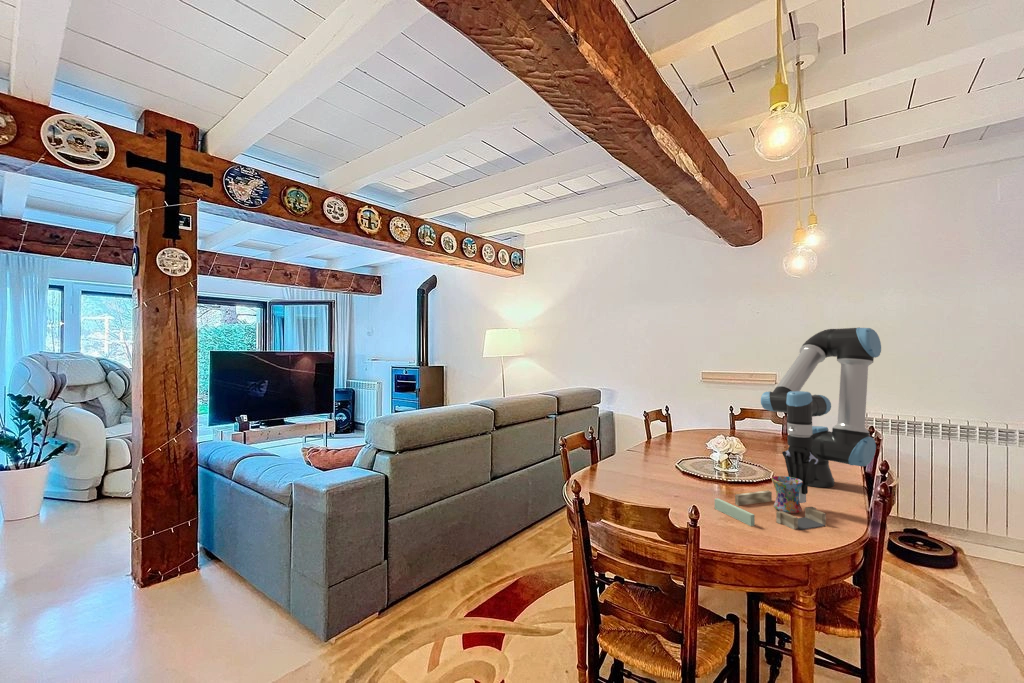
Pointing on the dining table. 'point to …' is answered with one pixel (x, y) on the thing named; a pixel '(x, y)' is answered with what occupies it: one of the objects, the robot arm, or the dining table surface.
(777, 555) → the dining table surface
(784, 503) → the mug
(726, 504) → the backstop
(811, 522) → the plate
